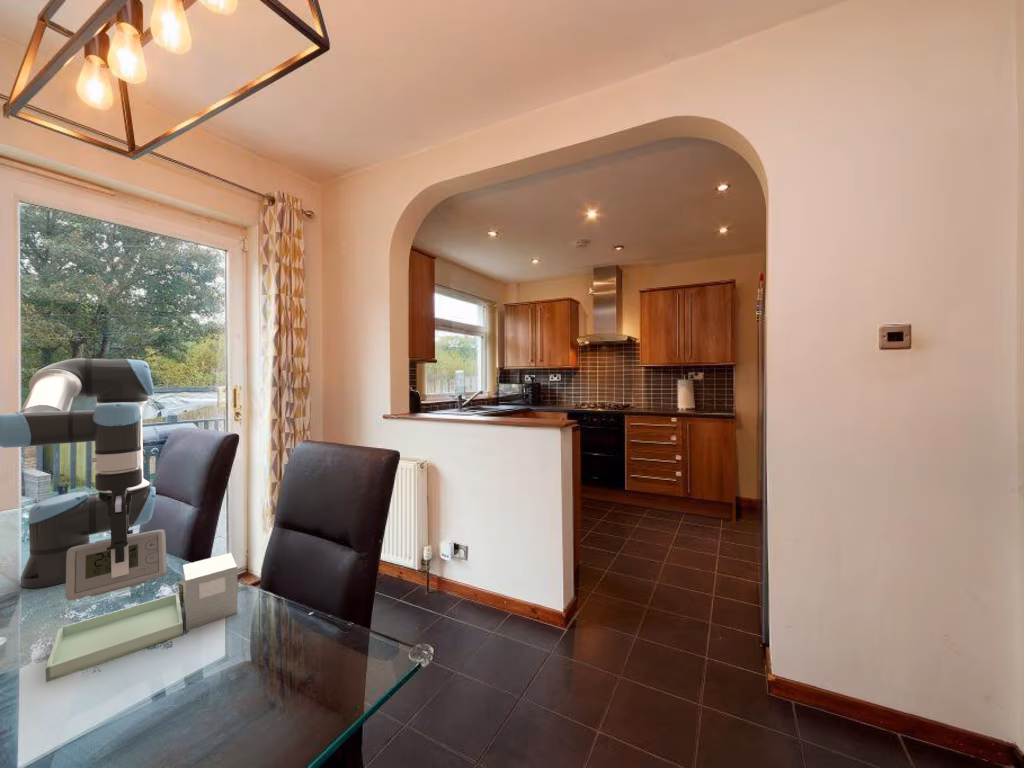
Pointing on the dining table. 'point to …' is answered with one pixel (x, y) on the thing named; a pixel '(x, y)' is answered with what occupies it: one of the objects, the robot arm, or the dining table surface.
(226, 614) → the light grey labelled box
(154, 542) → the digital clock
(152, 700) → the dining table surface
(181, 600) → the walnut block
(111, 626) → the tray
